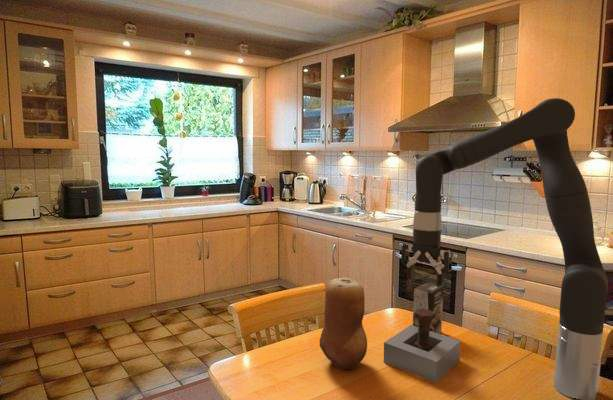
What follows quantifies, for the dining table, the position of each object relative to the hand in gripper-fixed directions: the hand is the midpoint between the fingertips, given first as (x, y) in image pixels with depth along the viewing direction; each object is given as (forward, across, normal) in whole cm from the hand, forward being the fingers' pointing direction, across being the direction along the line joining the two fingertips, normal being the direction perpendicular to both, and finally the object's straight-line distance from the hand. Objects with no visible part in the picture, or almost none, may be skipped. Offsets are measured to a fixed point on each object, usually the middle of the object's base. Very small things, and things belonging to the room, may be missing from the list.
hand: (424, 282), depth 117 cm
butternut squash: (+24, +16, +17) cm, 33 cm away
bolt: (+24, 0, 0) cm, 24 cm away
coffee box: (+24, +7, -18) cm, 31 cm away
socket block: (+24, 0, 0) cm, 24 cm away
